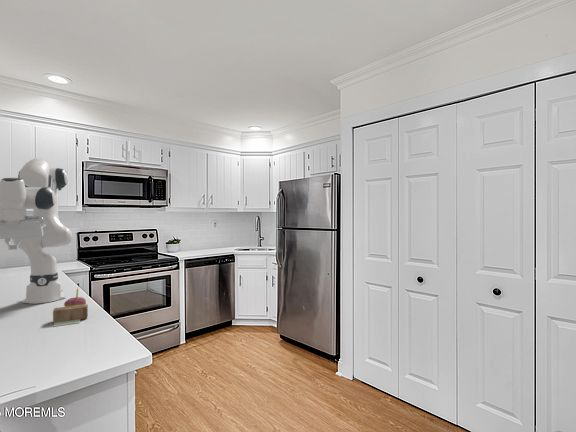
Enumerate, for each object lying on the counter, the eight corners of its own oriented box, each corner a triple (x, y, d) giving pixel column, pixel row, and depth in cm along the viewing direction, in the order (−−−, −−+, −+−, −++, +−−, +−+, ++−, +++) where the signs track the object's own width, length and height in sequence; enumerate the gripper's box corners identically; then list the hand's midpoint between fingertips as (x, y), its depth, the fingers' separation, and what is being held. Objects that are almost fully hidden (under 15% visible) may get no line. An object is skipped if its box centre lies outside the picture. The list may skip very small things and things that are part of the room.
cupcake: (90, 311, 153) (90, 285, 153) (71, 316, 146) (71, 289, 146) (78, 309, 157) (78, 284, 157) (60, 314, 149) (59, 288, 149)
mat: (58, 317, 145) (58, 316, 145) (82, 314, 149) (82, 313, 149) (53, 326, 133) (53, 325, 133) (79, 323, 137) (79, 322, 137)
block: (54, 307, 141) (87, 304, 146) (55, 319, 141) (87, 315, 146) (52, 310, 136) (86, 306, 142) (53, 322, 136) (86, 318, 142)
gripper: (45, 216, 145) (45, 247, 145) (-17, 216, 135) (-16, 250, 135) (42, 216, 139) (42, 248, 139) (-22, 216, 129) (-22, 251, 130)
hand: (13, 249), depth 137 cm, fingers closed
